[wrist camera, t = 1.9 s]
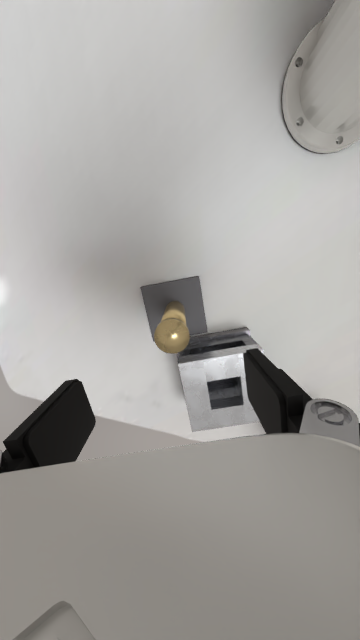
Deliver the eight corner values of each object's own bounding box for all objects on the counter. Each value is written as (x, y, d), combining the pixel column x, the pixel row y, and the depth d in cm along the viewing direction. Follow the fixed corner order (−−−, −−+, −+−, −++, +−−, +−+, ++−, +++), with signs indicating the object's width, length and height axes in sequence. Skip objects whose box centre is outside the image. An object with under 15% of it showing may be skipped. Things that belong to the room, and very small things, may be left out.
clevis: (174, 339, 31) (173, 361, 24) (246, 327, 31) (267, 345, 23) (187, 400, 34) (189, 435, 27) (252, 389, 34) (272, 422, 26)
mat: (141, 287, 29) (140, 287, 29) (198, 276, 28) (198, 276, 28) (153, 340, 31) (153, 341, 31) (207, 331, 31) (207, 332, 30)
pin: (162, 301, 29) (150, 323, 18) (183, 297, 29) (186, 317, 17) (166, 322, 30) (158, 356, 18) (187, 318, 30) (192, 350, 18)
